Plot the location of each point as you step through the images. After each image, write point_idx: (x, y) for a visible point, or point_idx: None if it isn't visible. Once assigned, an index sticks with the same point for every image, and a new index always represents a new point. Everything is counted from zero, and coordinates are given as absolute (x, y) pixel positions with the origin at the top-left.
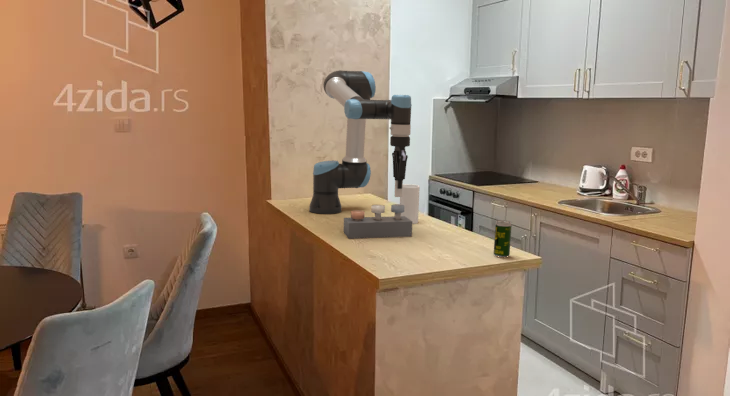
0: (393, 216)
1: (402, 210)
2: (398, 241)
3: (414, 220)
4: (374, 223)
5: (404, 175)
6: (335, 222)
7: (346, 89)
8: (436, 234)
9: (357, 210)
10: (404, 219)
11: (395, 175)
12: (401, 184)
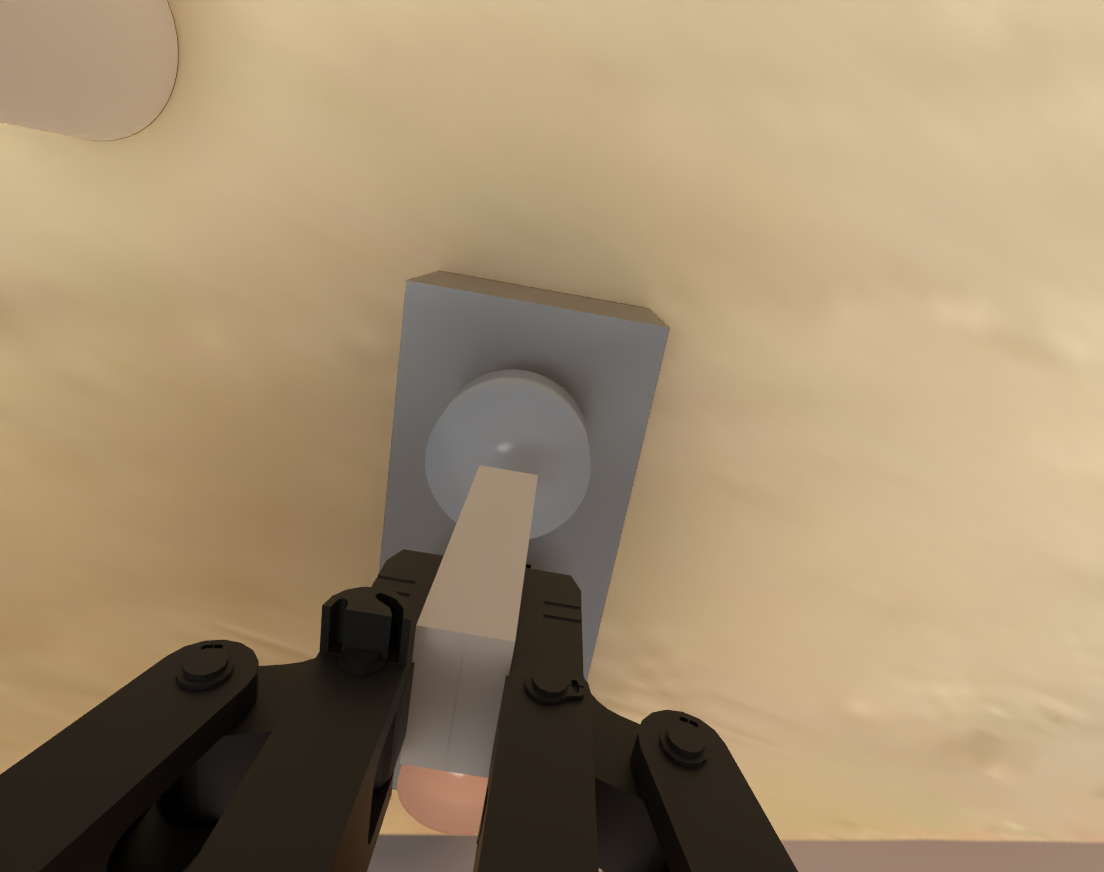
0: (397, 401)
1: (585, 428)
2: (742, 473)
3: (149, 1)
4: (592, 648)
5: (764, 842)
6: (72, 643)
7: None
8: (657, 34)
9: (407, 776)
10: (560, 361)
11: (364, 863)
12: (578, 638)
